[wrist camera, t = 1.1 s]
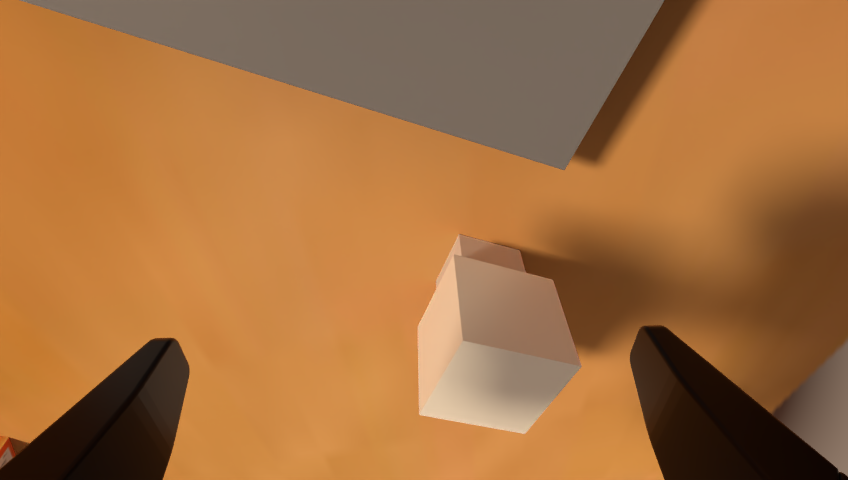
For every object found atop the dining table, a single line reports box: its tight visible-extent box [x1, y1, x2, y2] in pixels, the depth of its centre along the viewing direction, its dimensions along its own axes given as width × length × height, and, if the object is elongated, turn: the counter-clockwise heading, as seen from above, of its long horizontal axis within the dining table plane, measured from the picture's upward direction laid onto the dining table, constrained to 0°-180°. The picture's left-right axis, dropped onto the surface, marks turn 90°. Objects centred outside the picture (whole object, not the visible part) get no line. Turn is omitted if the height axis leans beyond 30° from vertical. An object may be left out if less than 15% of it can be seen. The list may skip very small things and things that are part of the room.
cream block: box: [418, 234, 582, 434], centre depth 24 cm, size 5×5×8 cm
